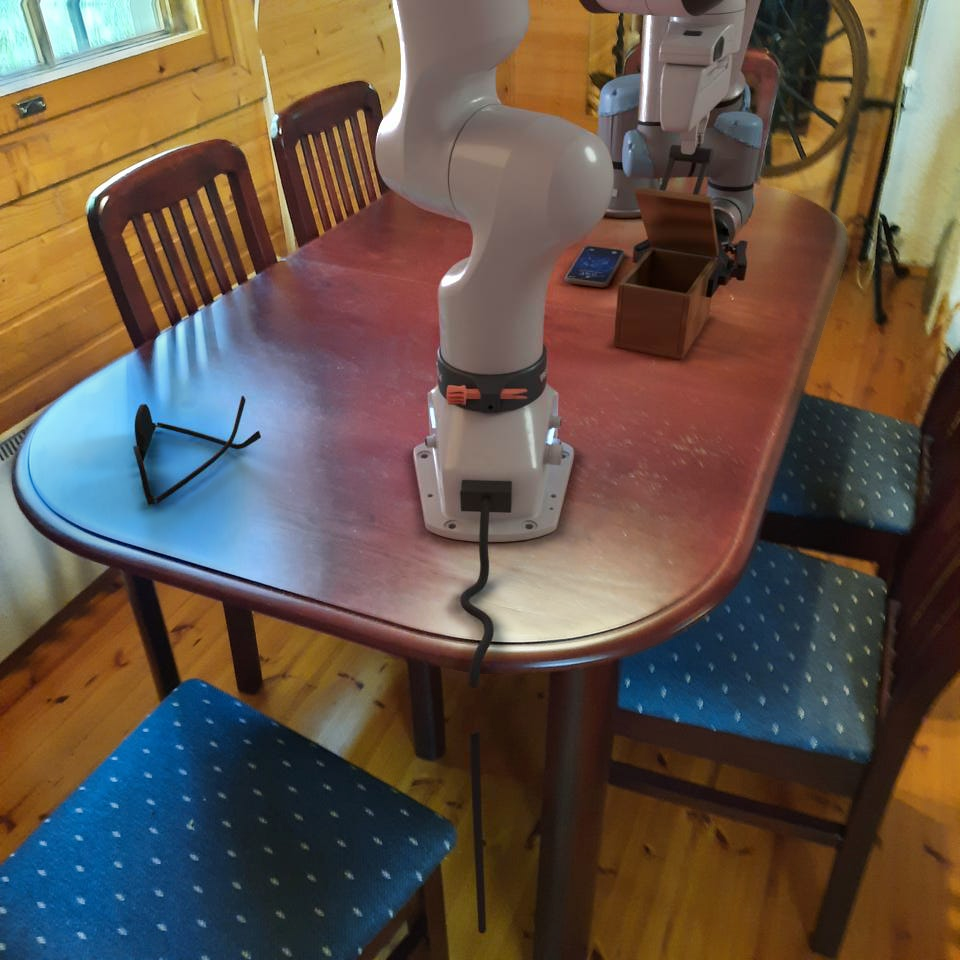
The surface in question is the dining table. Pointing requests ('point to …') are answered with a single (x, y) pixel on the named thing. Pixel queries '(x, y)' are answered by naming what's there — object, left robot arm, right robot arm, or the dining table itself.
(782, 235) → the dining table surface
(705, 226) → the lid
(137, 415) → the sunglasses
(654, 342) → the chest
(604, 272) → the smartphone
